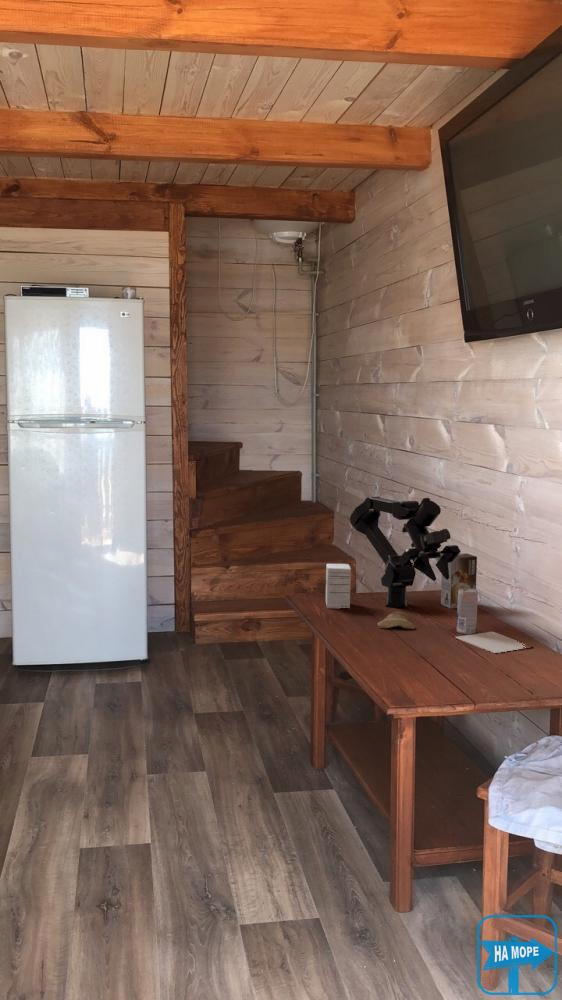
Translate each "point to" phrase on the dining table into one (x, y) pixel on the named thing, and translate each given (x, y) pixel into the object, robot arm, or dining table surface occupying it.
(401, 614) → the pottery shard
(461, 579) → the coffee box
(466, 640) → the white mat
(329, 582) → the supplement box
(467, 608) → the energy drink
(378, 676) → the dining table surface
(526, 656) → the dining table surface
